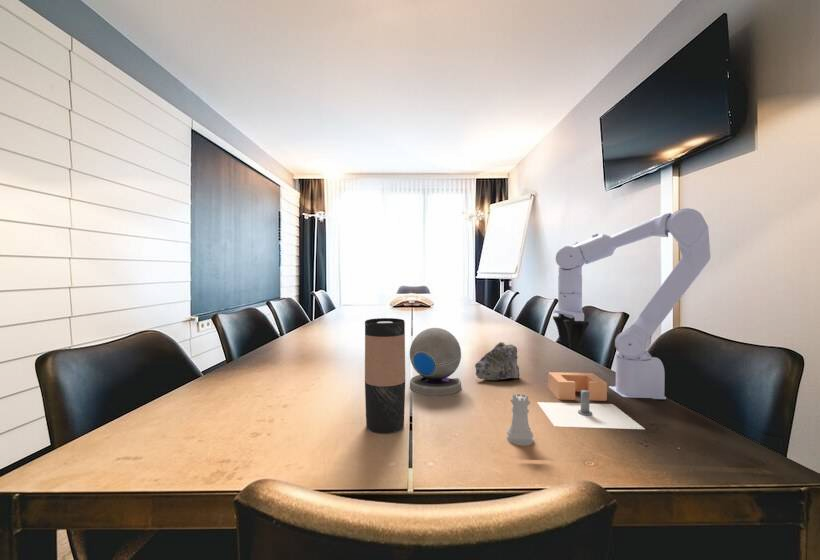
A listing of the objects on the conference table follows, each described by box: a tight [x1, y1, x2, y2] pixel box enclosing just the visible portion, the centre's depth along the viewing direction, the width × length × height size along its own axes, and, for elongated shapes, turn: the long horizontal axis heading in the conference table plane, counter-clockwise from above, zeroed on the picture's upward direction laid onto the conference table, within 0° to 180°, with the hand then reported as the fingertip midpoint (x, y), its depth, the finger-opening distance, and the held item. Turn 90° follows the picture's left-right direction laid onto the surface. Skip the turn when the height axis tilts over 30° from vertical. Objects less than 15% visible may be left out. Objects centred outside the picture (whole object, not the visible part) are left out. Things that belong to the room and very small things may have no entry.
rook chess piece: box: [506, 393, 534, 446], centre depth 64 cm, size 4×4×8 cm
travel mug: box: [364, 317, 406, 435], centre depth 71 cm, size 8×8×20 cm
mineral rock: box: [474, 341, 520, 381], centre depth 103 cm, size 13×11×10 cm
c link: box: [547, 371, 608, 402], centre depth 88 cm, size 8×10×4 cm
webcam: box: [409, 327, 462, 396], centre depth 95 cm, size 13×13×15 cm
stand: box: [536, 390, 645, 430], centre depth 75 cm, size 16×13×5 cm
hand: (569, 345), depth 98 cm, fingers open, 7 cm apart
